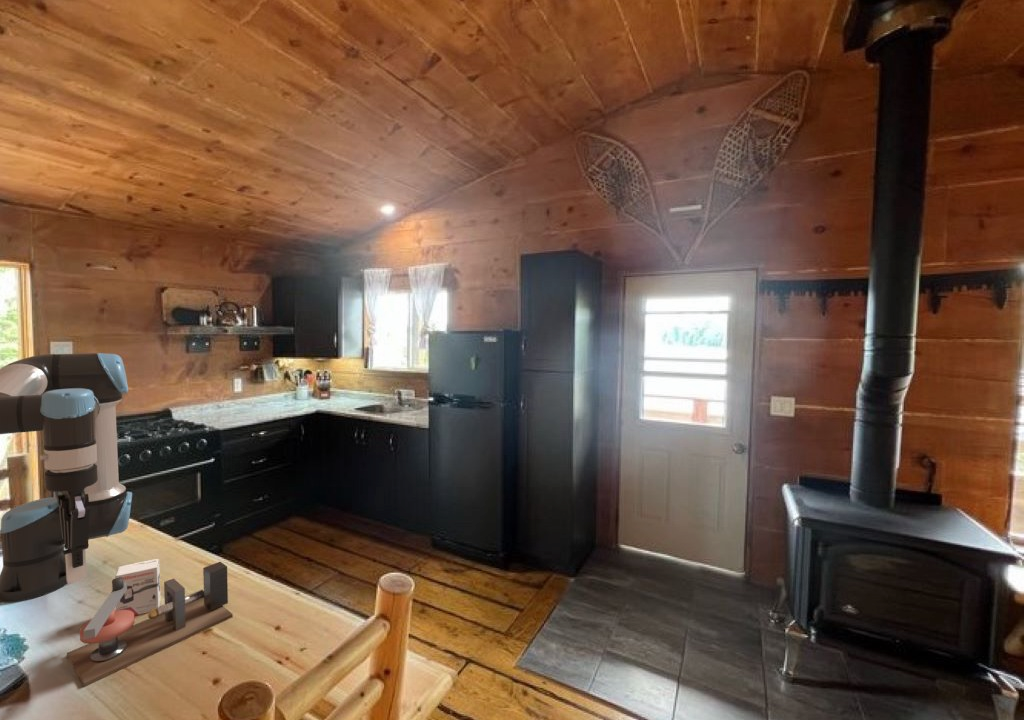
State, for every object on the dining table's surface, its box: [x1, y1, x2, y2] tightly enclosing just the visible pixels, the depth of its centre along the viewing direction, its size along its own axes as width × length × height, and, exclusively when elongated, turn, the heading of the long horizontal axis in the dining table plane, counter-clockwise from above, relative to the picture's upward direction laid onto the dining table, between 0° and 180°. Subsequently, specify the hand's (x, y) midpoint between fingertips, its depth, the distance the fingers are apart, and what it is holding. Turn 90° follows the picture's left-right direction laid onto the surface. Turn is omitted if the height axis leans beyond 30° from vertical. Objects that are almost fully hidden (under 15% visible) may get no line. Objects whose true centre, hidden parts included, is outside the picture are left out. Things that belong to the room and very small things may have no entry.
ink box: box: [114, 558, 161, 617], centre depth 116 cm, size 8×5×12 cm, turn 123°
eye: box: [163, 578, 186, 631], centre depth 111 cm, size 7×2×10 cm, turn 55°
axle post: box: [90, 637, 127, 663], centre depth 101 cm, size 6×6×5 cm
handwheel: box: [79, 577, 135, 645], centre depth 100 cm, size 9×18×8 cm, turn 24°
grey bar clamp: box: [147, 561, 229, 619], centre depth 113 cm, size 4×16×10 cm, turn 145°
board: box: [66, 598, 234, 687], centre depth 108 cm, size 14×28×1 cm, turn 145°
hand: (76, 579), depth 92 cm, fingers closed
